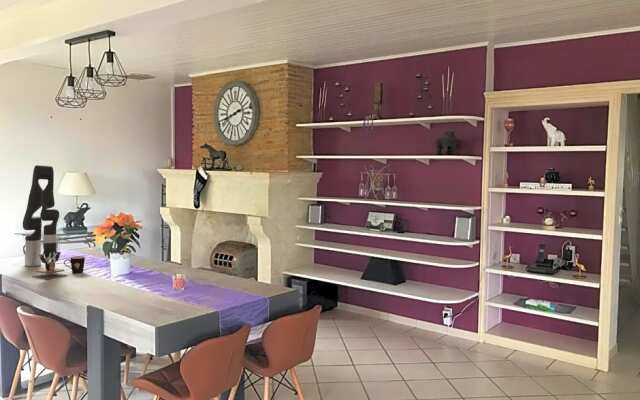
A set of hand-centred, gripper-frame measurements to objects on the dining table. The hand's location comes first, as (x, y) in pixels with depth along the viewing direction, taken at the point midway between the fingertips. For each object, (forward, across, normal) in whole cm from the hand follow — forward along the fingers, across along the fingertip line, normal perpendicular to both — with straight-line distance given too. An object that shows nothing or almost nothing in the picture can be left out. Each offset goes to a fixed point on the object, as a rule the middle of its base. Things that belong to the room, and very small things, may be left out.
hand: (50, 268), depth 328 cm
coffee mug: (+5, -16, +3) cm, 17 cm away
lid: (+2, 0, 0) cm, 2 cm away
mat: (+5, 0, 0) cm, 5 cm away
